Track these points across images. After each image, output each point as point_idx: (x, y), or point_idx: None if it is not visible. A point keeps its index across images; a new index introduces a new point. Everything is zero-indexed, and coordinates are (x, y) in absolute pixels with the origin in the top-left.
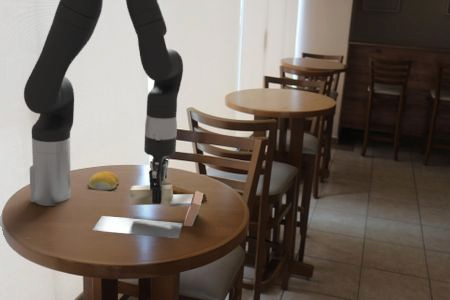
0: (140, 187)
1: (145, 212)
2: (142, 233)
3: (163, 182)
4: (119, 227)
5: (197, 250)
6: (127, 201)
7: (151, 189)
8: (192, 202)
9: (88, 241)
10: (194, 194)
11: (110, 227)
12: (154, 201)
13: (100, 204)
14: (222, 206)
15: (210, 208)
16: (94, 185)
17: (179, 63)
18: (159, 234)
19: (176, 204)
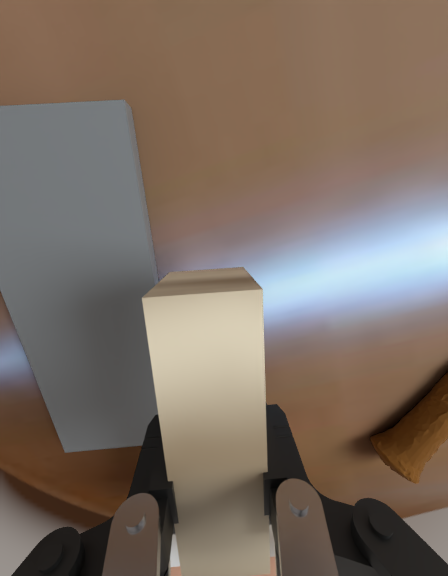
0: (210, 376)
1: (271, 288)
2: (37, 346)
3: (275, 551)
4: (38, 242)
5: (52, 485)
6: (385, 169)
7: (48, 543)
8: (177, 573)
9: None
10: (423, 445)
11: (14, 200)
12: (152, 426)
13: (327, 11)
14: (366, 489)
15: (346, 467)
16: None
17: None
18: (61, 399)
19: None
